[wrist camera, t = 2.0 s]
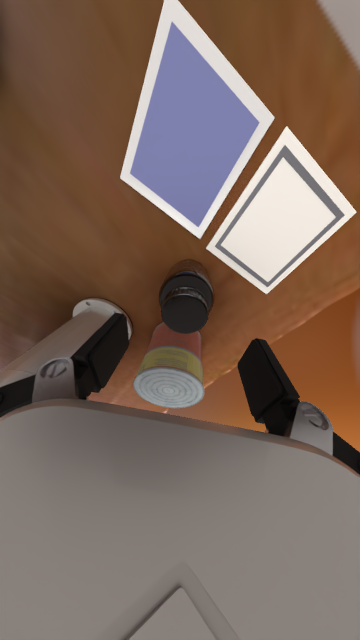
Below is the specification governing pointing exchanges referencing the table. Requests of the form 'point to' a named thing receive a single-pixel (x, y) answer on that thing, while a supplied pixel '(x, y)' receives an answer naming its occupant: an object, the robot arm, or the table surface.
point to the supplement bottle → (186, 297)
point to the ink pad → (191, 124)
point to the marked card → (280, 216)
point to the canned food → (171, 369)
